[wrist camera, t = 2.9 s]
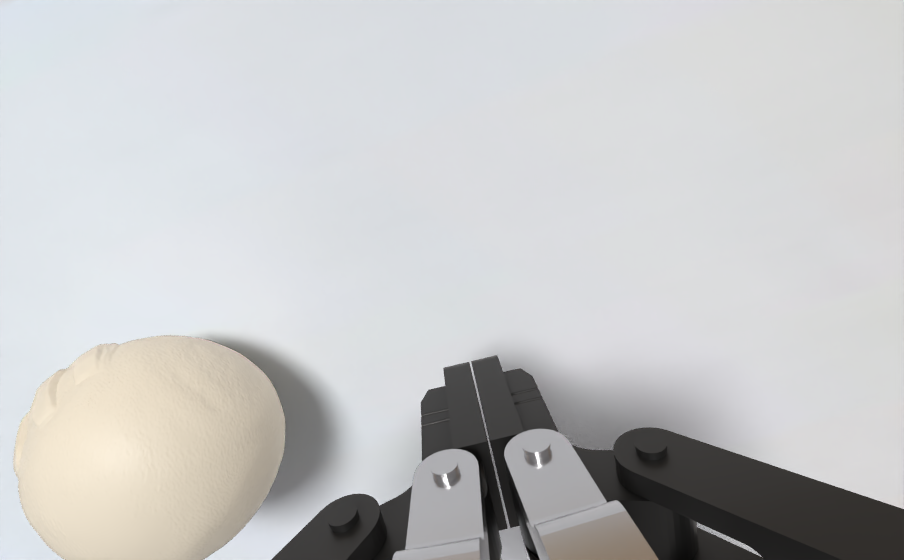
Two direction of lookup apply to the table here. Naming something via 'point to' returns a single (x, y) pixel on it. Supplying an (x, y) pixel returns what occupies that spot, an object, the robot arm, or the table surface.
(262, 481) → the cream rounded lump
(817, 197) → the table surface
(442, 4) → the table surface
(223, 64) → the table surface
